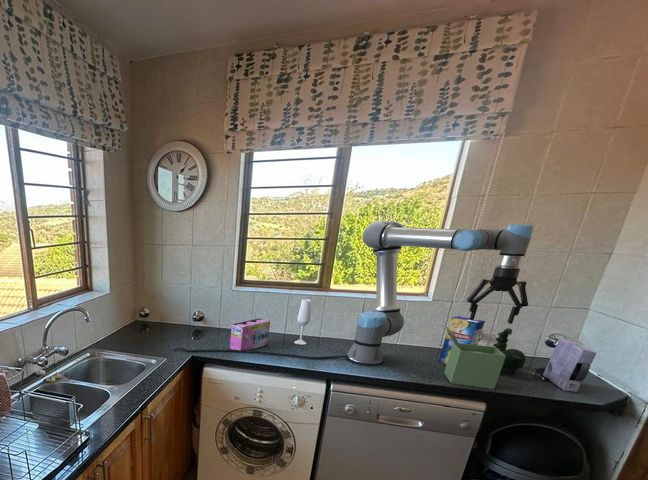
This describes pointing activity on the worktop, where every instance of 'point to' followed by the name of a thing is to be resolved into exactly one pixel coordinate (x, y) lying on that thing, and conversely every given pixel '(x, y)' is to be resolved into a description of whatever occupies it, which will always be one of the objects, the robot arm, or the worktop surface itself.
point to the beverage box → (461, 334)
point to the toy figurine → (509, 353)
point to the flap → (453, 338)
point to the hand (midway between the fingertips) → (490, 321)
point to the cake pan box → (569, 365)
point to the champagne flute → (304, 317)
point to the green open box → (474, 365)
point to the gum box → (249, 334)
